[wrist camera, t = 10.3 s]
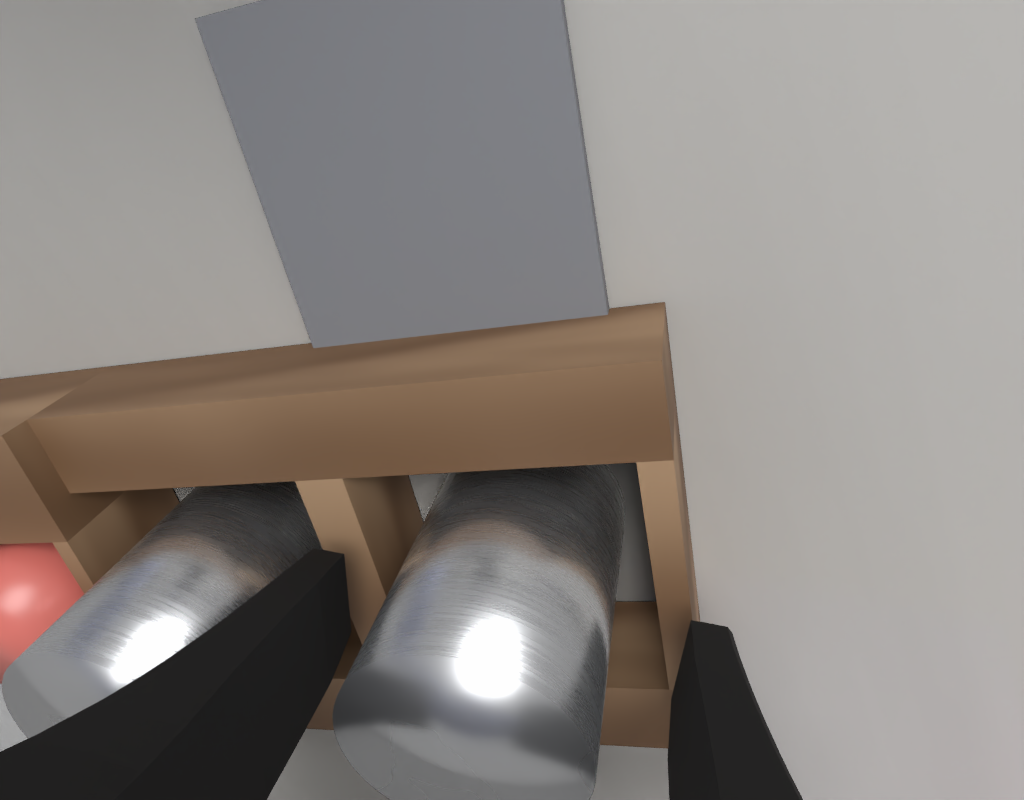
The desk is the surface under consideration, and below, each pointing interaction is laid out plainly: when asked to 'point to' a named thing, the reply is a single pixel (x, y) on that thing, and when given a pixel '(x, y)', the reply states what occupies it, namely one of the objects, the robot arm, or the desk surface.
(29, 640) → the button
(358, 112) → the mat
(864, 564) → the desk surface
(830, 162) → the desk surface
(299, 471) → the wooden compartment tray
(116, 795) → the robot arm
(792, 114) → the desk surface
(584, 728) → the cylinder
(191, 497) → the billet seated
